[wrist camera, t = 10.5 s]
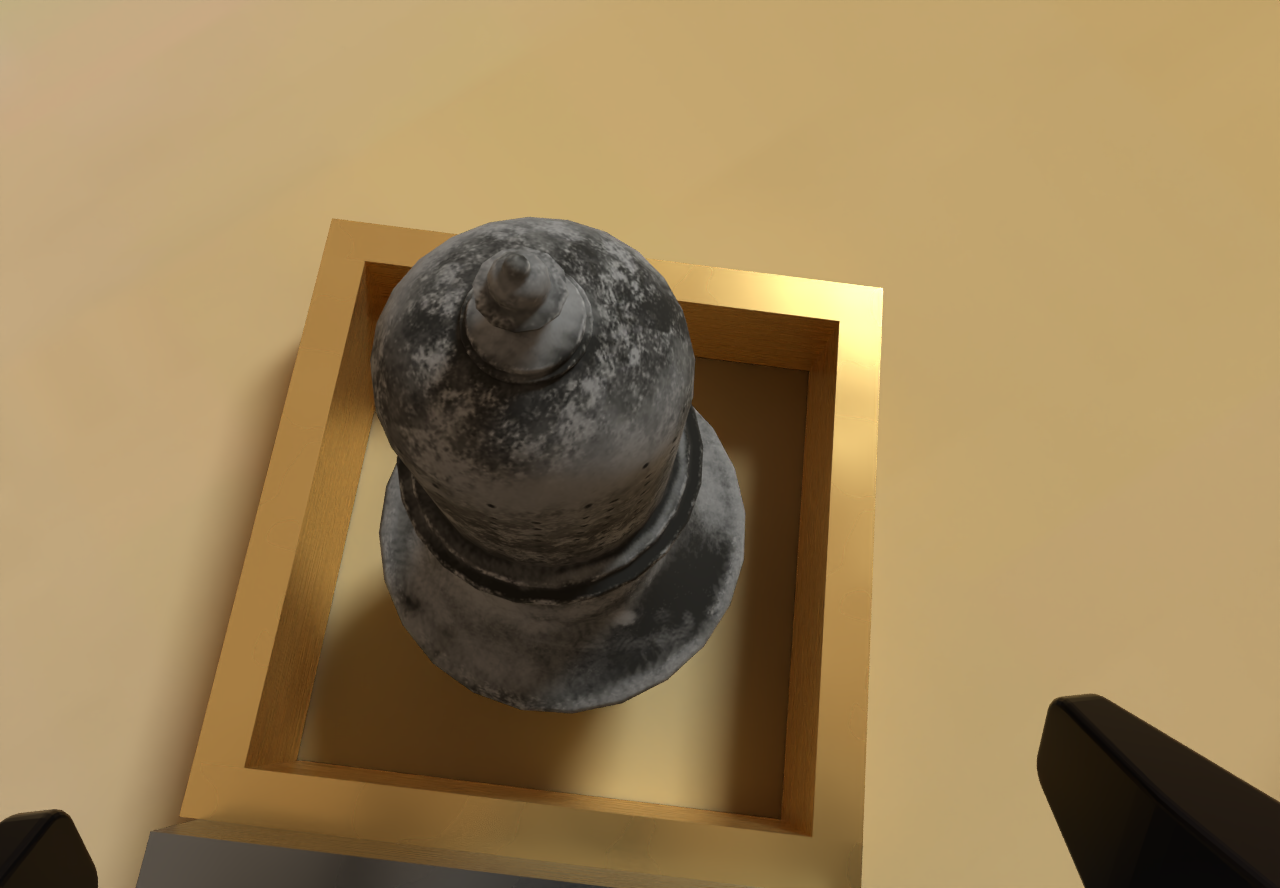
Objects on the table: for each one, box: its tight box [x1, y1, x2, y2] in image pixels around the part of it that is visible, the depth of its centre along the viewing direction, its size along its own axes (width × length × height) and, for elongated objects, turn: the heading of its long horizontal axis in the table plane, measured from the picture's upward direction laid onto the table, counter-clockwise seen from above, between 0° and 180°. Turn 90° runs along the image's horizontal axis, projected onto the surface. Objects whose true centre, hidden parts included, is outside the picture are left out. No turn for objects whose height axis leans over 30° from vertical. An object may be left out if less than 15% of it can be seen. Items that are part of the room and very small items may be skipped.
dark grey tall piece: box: [370, 217, 745, 713], centre depth 12 cm, size 6×6×12 cm
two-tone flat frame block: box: [136, 219, 883, 888], centre depth 14 cm, size 21×11×5 cm, turn 173°
